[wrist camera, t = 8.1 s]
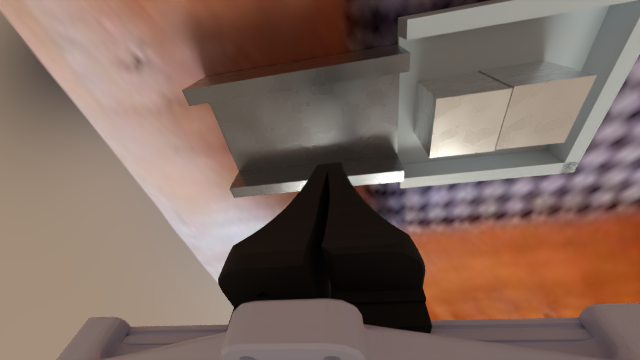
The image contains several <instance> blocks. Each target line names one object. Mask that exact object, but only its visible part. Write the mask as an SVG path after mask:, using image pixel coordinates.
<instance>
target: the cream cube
mask: <svg viewBox="0 0 640 360" xmlns="http://www.w3.org/2000/svg"><path fill="white" fill-rule="evenodd" d="M512 89H513V88H511V87H509V86H507V85H505V84H503V83H501V82H499V81H497V80H495V79H492V78H490V77H488V76H486V75H484V74H482V73H480V72H472V73H465V74H459V75H452V76H446V77H439V78H432V79H426V80H419V81H417V94H416V108H415V122H414V134H415V135H416V137H417V138H418V140H419V142H420V143H421V145H422V147H423V148H424V150H425V152H426V153H427V155H428V156H429V158H436V157H445V156H454V155H463V154H472V153H481V152H491V151H494V150H495V146H496V143H497V140H498V136H499V133H500V130H501V126H502V123H503V120H504V116H505V113H506V110H507V106H508V103H509V100H510V96H511V93H512Z"/></svg>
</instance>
